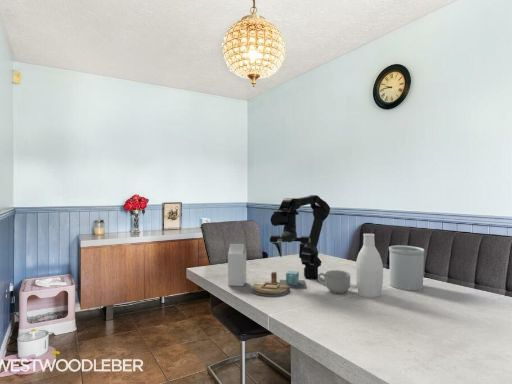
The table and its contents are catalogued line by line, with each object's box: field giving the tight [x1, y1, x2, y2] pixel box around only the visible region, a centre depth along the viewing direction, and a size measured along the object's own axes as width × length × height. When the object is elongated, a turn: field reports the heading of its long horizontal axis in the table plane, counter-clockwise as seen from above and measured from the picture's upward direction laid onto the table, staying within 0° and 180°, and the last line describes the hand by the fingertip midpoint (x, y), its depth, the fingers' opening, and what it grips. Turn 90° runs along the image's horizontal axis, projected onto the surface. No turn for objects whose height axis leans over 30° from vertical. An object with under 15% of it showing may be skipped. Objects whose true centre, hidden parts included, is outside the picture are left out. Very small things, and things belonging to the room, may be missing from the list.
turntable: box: [251, 271, 288, 294], centre depth 143 cm, size 16×16×5 cm
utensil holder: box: [388, 245, 426, 291], centre depth 148 cm, size 15×15×18 cm
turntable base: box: [250, 287, 291, 297], centre depth 143 cm, size 17×17×1 cm
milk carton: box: [227, 243, 247, 287], centre depth 153 cm, size 7×7×19 cm
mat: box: [279, 279, 307, 289], centre depth 152 cm, size 12×12×1 cm
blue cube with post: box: [285, 270, 300, 285], centre depth 151 cm, size 8×5×5 cm, turn 162°
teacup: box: [317, 269, 352, 294], centre depth 142 cm, size 14×11×8 cm
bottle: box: [355, 233, 384, 299], centre depth 136 cm, size 11×11×25 cm
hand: (290, 257), depth 153 cm, fingers open, 9 cm apart
